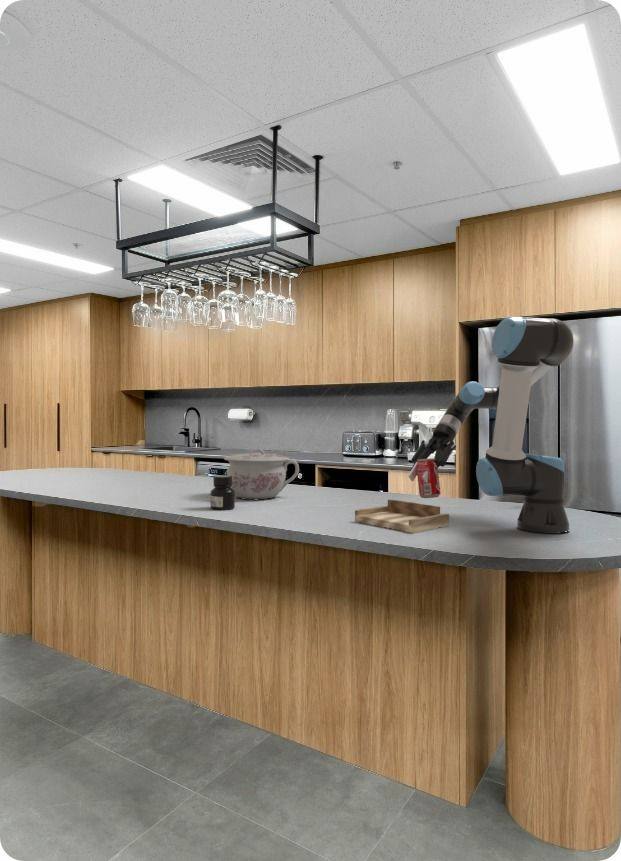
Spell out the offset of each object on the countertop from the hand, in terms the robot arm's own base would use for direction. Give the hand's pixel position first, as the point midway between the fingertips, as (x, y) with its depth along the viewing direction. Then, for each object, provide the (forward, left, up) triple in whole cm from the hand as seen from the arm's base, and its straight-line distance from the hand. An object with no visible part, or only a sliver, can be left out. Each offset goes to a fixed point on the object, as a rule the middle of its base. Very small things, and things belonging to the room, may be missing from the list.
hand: (417, 479), depth 201 cm
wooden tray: (-2, +11, -14) cm, 18 cm away
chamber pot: (+75, +11, -14) cm, 77 cm away
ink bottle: (+60, +38, -14) cm, 73 cm away
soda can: (-2, -4, -6) cm, 8 cm away
